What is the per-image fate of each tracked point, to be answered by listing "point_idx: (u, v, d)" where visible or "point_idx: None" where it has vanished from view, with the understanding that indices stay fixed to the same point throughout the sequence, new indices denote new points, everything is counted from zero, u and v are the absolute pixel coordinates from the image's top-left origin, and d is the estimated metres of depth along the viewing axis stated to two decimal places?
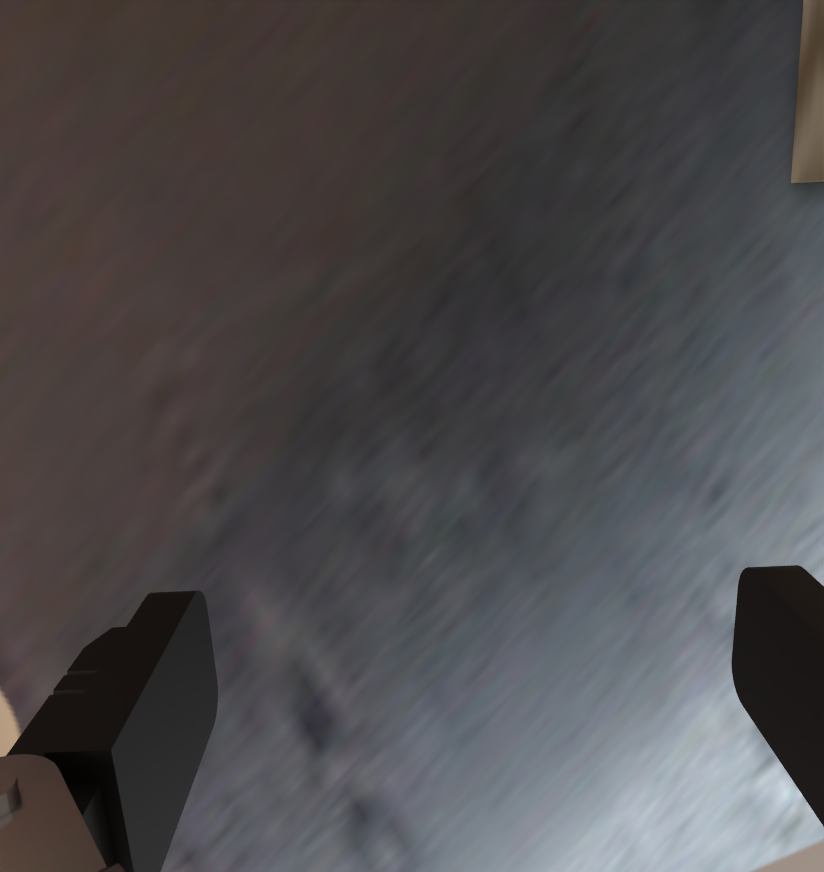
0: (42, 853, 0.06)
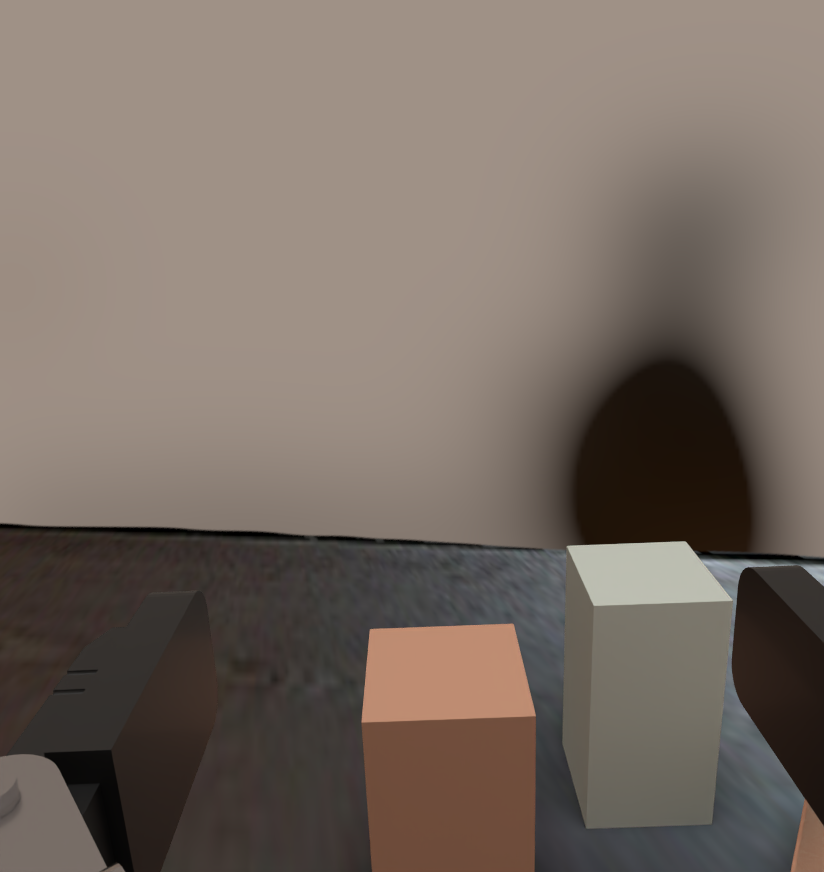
0: (43, 853, 0.06)
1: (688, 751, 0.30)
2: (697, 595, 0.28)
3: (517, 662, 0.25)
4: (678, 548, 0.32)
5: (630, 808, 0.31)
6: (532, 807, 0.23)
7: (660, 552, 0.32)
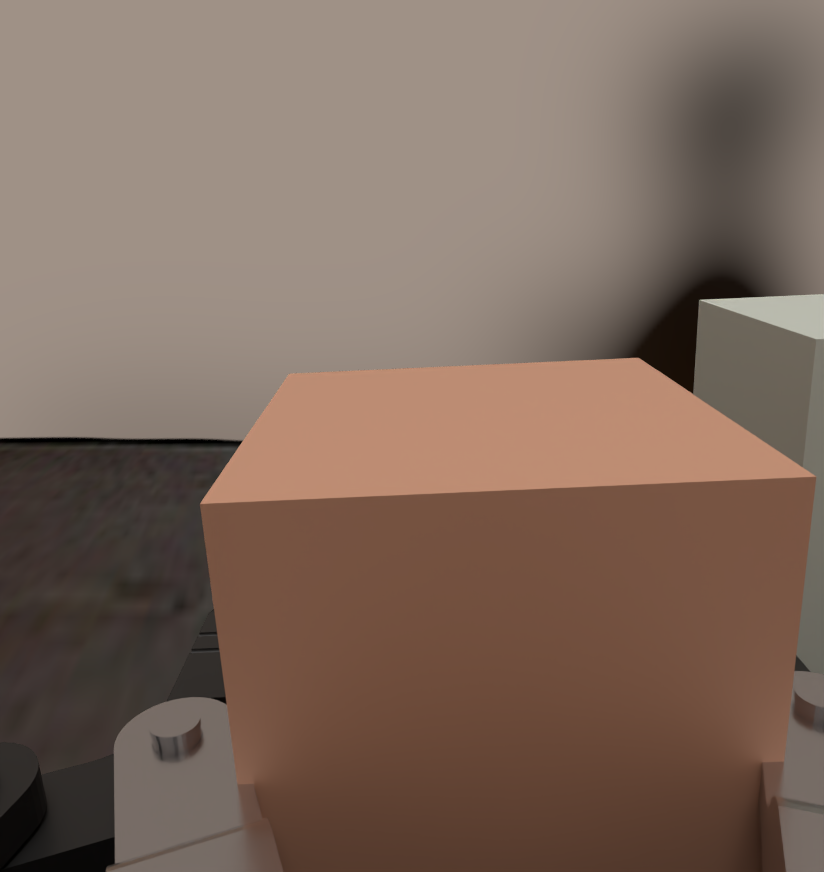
0: None
1: None
2: None
3: (682, 397, 0.09)
4: None
5: None
6: None
7: None
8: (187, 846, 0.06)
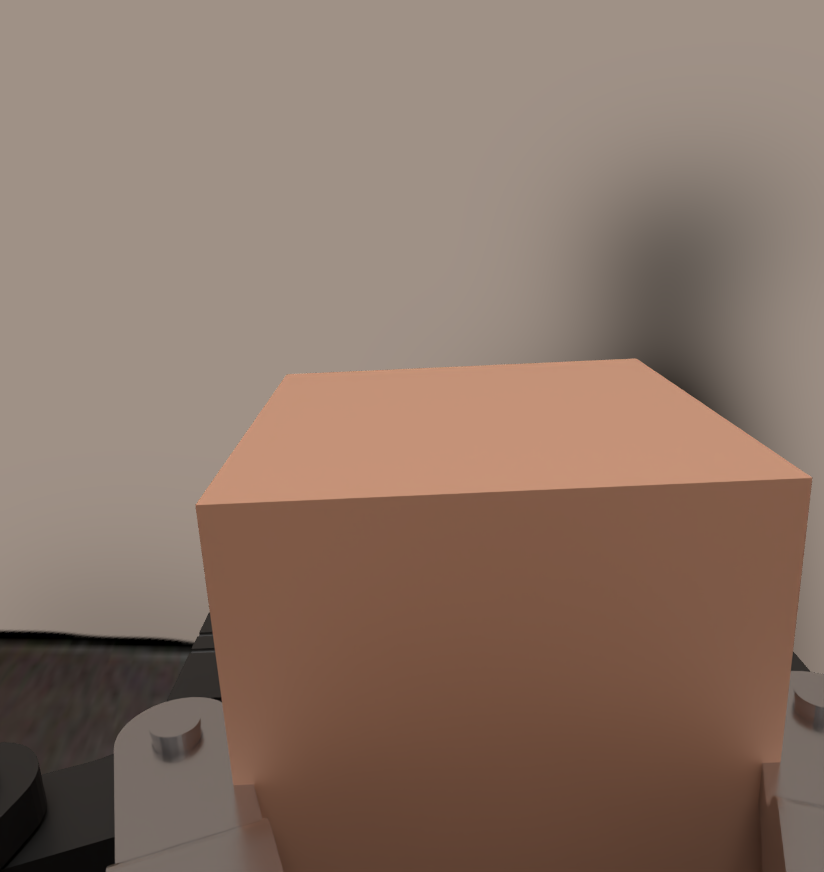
0: None
1: None
2: None
3: (679, 398, 0.09)
4: None
5: None
6: None
7: None
8: (187, 846, 0.06)
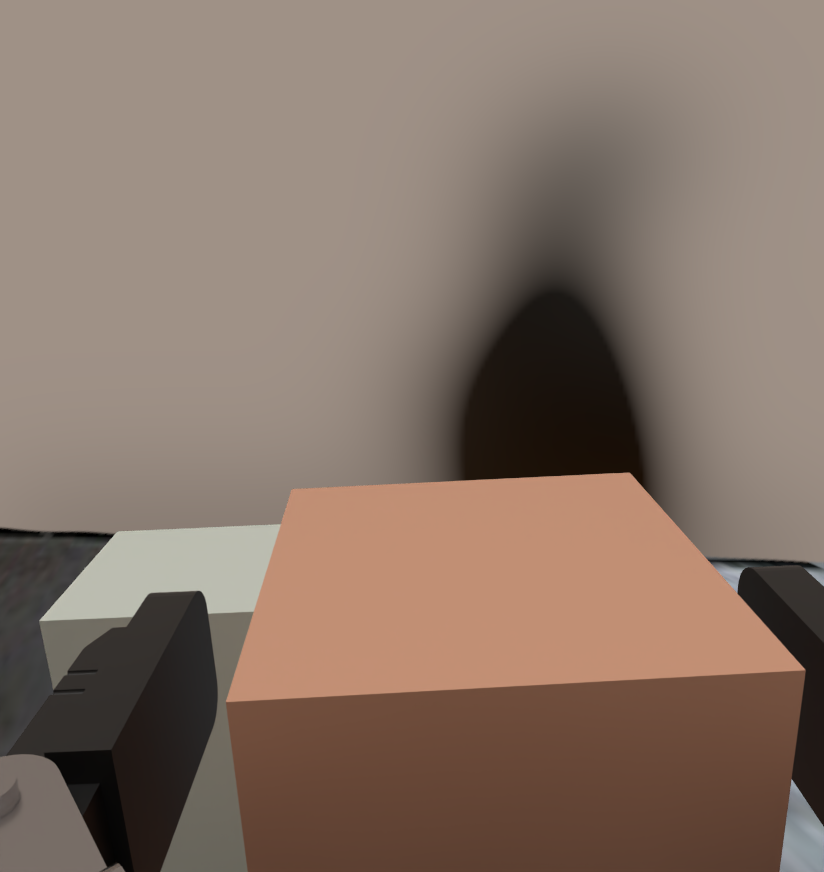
0: (42, 853, 0.06)
1: (237, 840, 0.20)
2: (212, 603, 0.18)
3: (675, 539, 0.09)
4: (268, 533, 0.22)
5: None
6: None
7: (236, 539, 0.22)
8: None
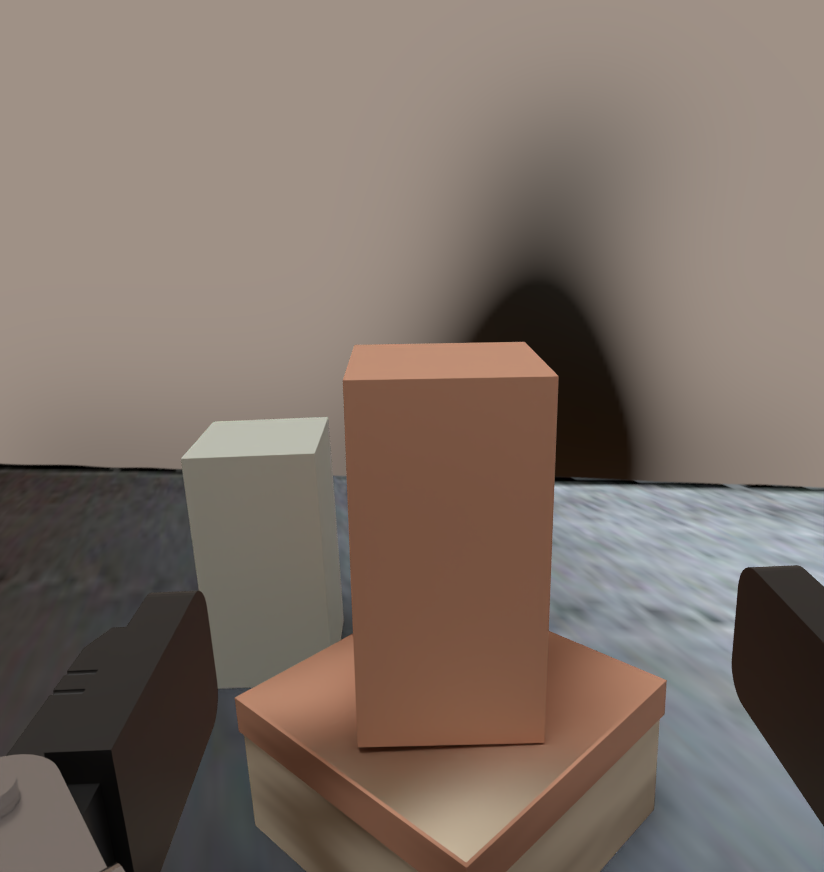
0: (42, 853, 0.06)
1: (297, 608, 0.31)
2: (286, 450, 0.29)
3: (531, 355, 0.20)
4: (315, 421, 0.33)
5: (251, 667, 0.31)
6: (550, 506, 0.19)
7: (294, 424, 0.33)
8: None
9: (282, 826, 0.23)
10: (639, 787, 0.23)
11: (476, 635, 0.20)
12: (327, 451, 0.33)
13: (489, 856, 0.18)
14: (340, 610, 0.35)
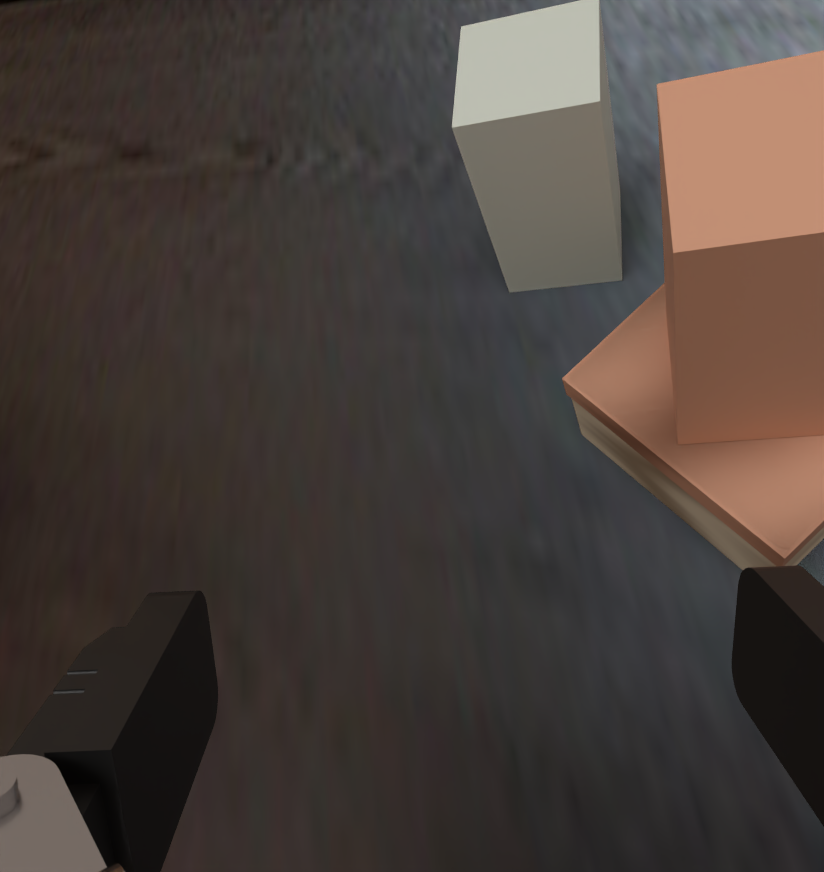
0: (43, 853, 0.06)
1: (585, 232, 0.31)
2: (565, 97, 0.26)
3: None
4: (584, 11, 0.27)
5: (543, 276, 0.34)
6: None
7: (560, 23, 0.27)
8: None
9: (608, 448, 0.30)
10: None
11: (797, 387, 0.21)
12: (602, 48, 0.28)
13: (802, 543, 0.23)
14: (618, 190, 0.34)
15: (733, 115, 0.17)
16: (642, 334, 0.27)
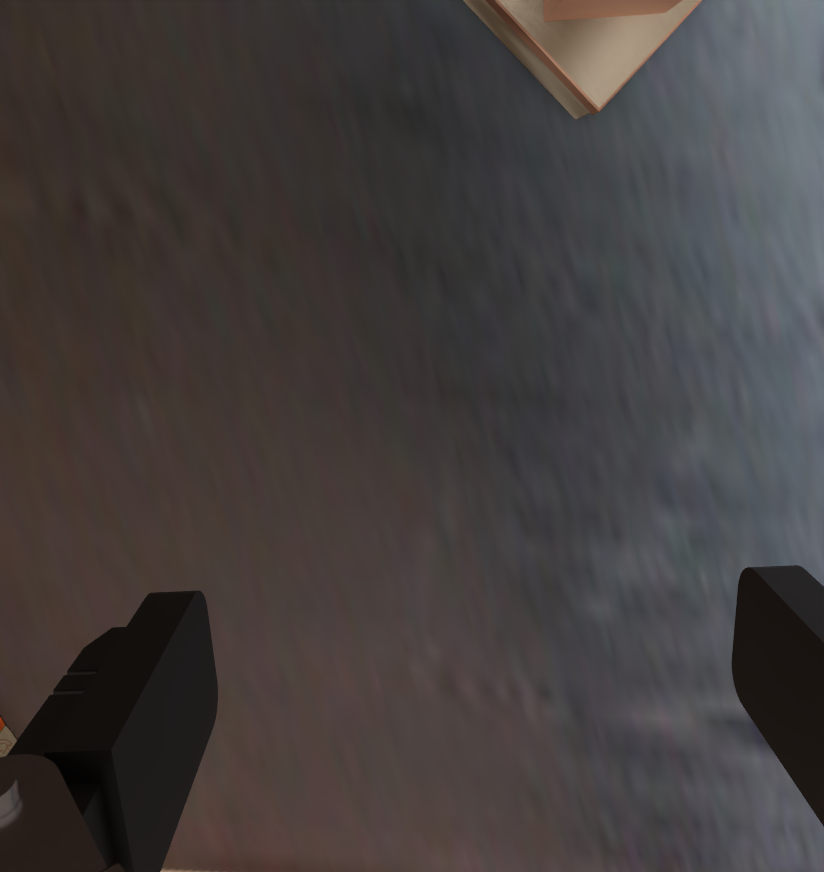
0: (42, 853, 0.06)
1: None
2: None
3: None
4: None
5: None
6: None
7: None
8: None
9: None
10: None
11: None
12: None
13: (610, 98, 0.33)
14: None
15: None
16: None
